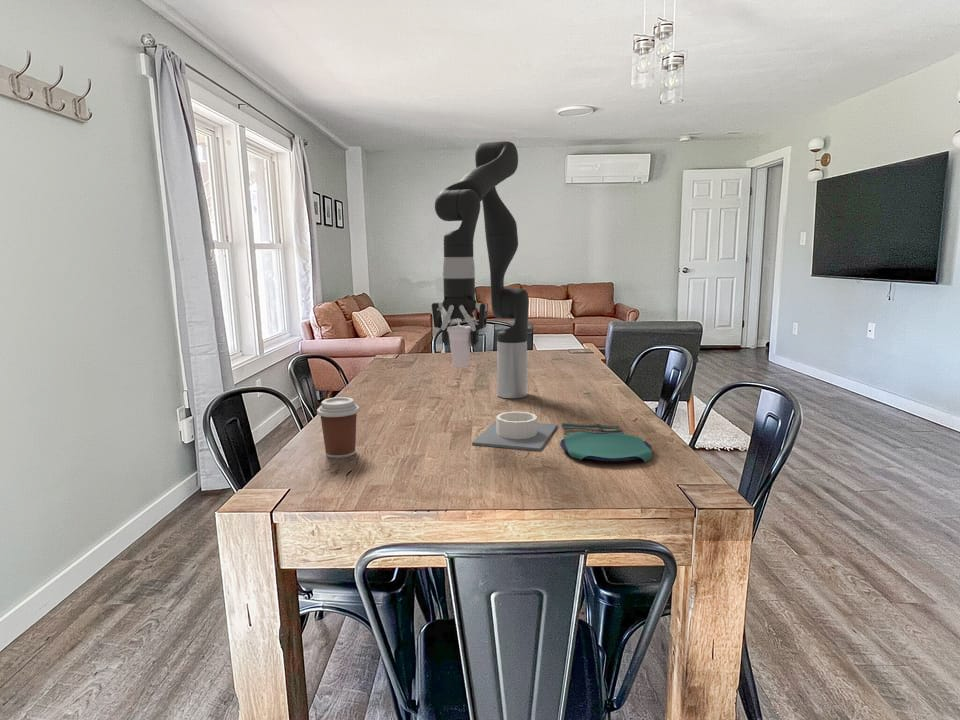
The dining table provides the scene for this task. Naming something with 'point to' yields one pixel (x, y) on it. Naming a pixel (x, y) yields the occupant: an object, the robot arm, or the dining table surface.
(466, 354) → the smoothie
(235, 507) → the dining table surface
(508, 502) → the dining table surface
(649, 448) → the cutlery set
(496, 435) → the sleeve stand
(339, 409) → the coffee cup
